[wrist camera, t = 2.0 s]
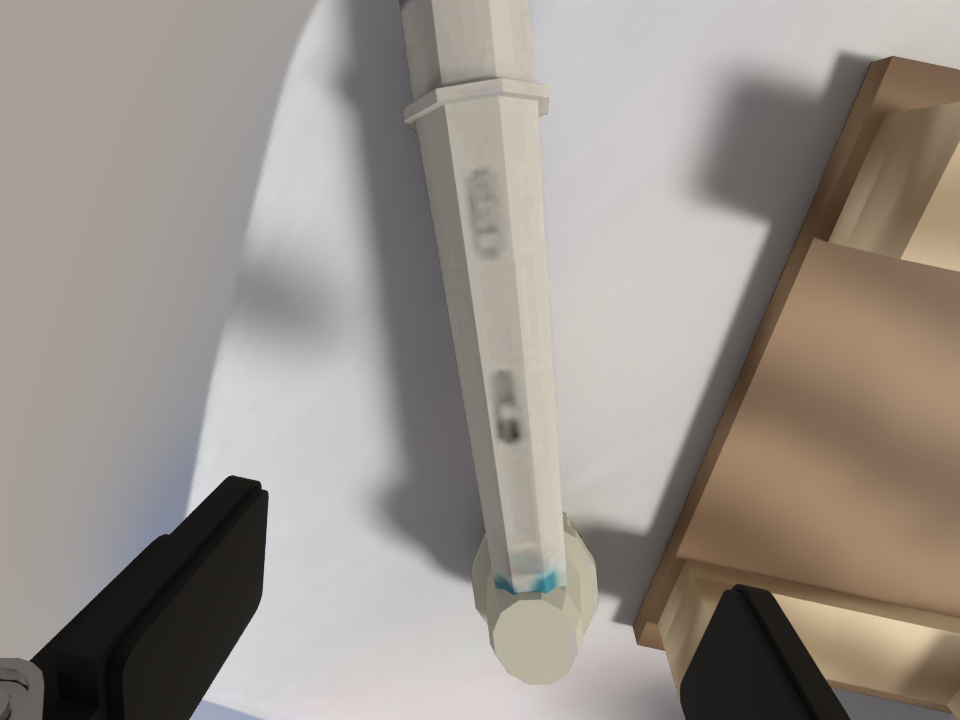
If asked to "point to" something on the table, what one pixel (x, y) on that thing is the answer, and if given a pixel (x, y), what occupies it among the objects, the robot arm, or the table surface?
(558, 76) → the table surface
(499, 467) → the white electric toothbrush
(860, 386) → the v block cradle
